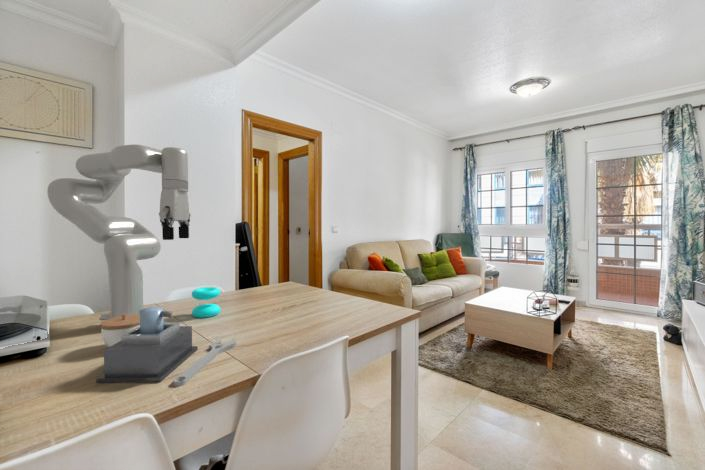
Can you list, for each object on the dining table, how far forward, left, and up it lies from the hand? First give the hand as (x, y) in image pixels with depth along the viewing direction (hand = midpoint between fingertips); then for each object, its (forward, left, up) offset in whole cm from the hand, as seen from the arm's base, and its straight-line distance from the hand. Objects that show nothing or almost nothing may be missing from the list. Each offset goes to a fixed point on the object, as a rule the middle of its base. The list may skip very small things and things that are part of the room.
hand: (176, 238), depth 104 cm
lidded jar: (-8, -14, -31) cm, 35 cm away
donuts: (+2, +17, -31) cm, 35 cm away
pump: (+8, -26, -23) cm, 36 cm away
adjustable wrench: (+19, -24, -31) cm, 44 cm away
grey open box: (+7, -26, -30) cm, 41 cm away
